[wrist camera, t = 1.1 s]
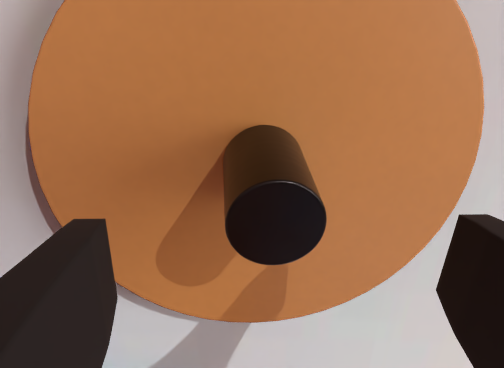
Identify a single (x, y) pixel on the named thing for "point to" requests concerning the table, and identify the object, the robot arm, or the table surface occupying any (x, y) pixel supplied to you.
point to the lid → (256, 143)
